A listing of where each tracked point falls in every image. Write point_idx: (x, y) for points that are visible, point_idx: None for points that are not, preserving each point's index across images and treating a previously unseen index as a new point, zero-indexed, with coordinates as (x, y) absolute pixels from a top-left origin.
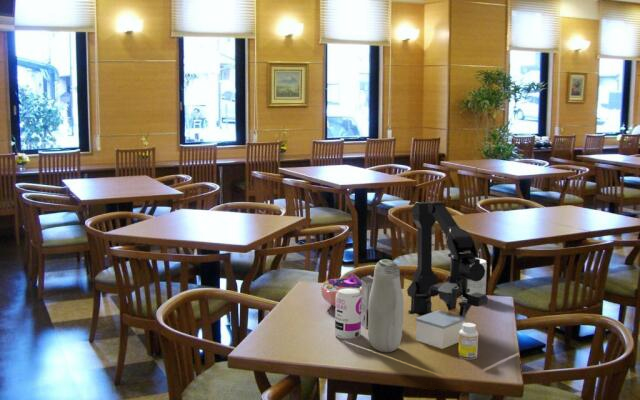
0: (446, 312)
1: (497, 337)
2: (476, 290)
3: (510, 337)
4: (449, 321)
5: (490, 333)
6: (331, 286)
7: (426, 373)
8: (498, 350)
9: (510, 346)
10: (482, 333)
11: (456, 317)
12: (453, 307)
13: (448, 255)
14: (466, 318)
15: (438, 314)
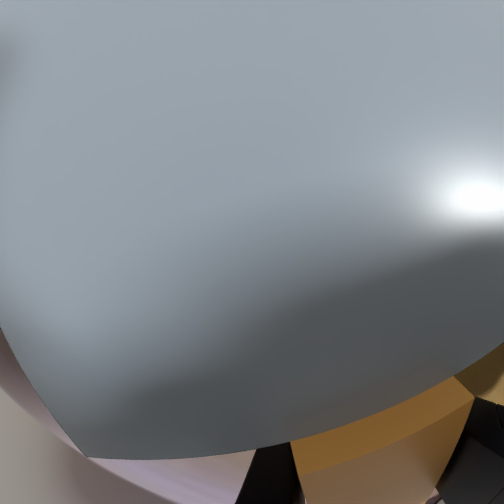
0: (480, 340)
1: (160, 464)
2: None
3: (144, 486)
4: (21, 15)
5: (222, 473)
6: None
7: None
8: (4, 346)
9: (45, 421)
10: (240, 454)
11: (128, 336)
12: (457, 478)
13: None
14: (79, 439)
15: (492, 117)
